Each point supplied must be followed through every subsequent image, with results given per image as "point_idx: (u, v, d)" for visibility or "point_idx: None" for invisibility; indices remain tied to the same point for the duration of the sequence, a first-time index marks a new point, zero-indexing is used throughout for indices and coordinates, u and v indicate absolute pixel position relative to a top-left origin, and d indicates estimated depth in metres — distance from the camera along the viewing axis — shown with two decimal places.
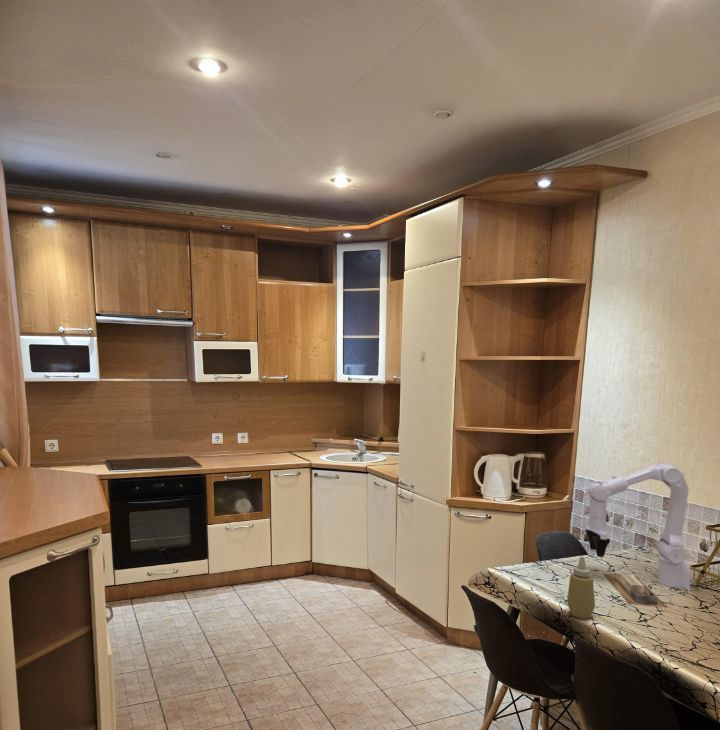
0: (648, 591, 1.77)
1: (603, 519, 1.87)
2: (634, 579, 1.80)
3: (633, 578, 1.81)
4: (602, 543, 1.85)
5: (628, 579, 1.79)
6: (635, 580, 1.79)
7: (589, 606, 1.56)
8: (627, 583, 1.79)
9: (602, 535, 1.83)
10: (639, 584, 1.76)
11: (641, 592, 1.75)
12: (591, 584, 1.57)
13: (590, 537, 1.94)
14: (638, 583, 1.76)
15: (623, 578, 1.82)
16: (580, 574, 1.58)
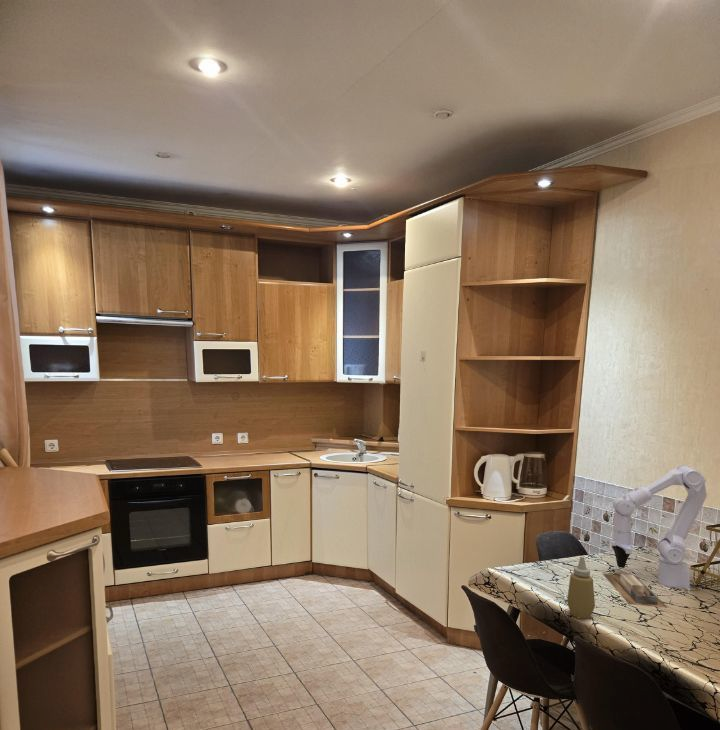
0: (648, 591, 1.77)
1: (628, 533, 1.87)
2: (634, 579, 1.80)
3: (633, 578, 1.81)
4: (623, 554, 1.89)
5: (628, 579, 1.79)
6: (635, 580, 1.79)
7: (589, 606, 1.56)
8: (627, 583, 1.79)
9: (627, 550, 1.83)
10: (639, 584, 1.76)
11: (641, 592, 1.75)
12: (591, 584, 1.57)
13: None
14: (638, 583, 1.76)
15: (623, 578, 1.82)
16: (580, 574, 1.58)
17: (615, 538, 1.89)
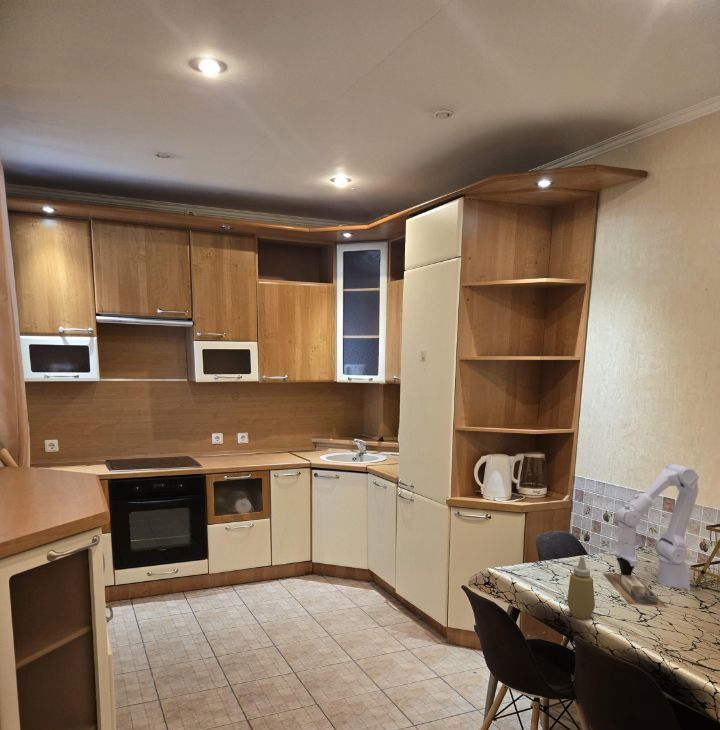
0: (648, 591, 1.77)
1: (633, 545, 1.83)
2: (635, 580, 1.79)
3: (634, 579, 1.80)
4: (628, 566, 1.84)
5: (629, 580, 1.79)
6: (636, 581, 1.78)
7: (589, 606, 1.56)
8: (628, 584, 1.78)
9: (632, 562, 1.78)
10: (640, 585, 1.75)
11: (642, 593, 1.74)
12: (591, 584, 1.57)
13: None
14: (639, 584, 1.76)
15: (624, 579, 1.82)
16: (580, 574, 1.58)
17: (619, 550, 1.85)
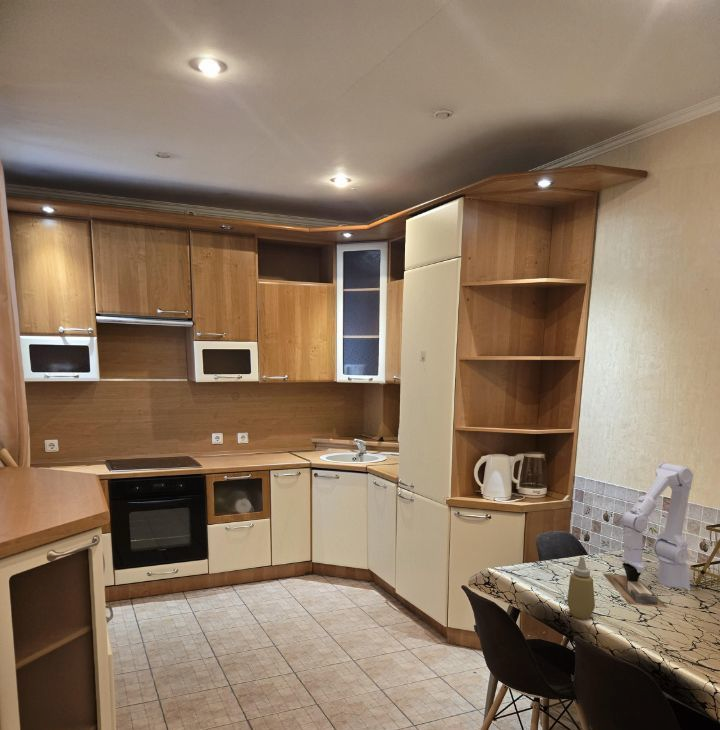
0: None
1: (639, 550, 1.77)
2: (642, 587, 1.74)
3: (641, 586, 1.74)
4: (634, 573, 1.79)
5: (636, 587, 1.73)
6: (643, 588, 1.73)
7: (589, 606, 1.56)
8: (634, 591, 1.72)
9: (639, 568, 1.73)
10: (647, 592, 1.69)
11: None
12: (591, 584, 1.57)
13: None
14: (646, 591, 1.70)
15: (630, 586, 1.76)
16: (580, 574, 1.58)
17: (626, 555, 1.79)
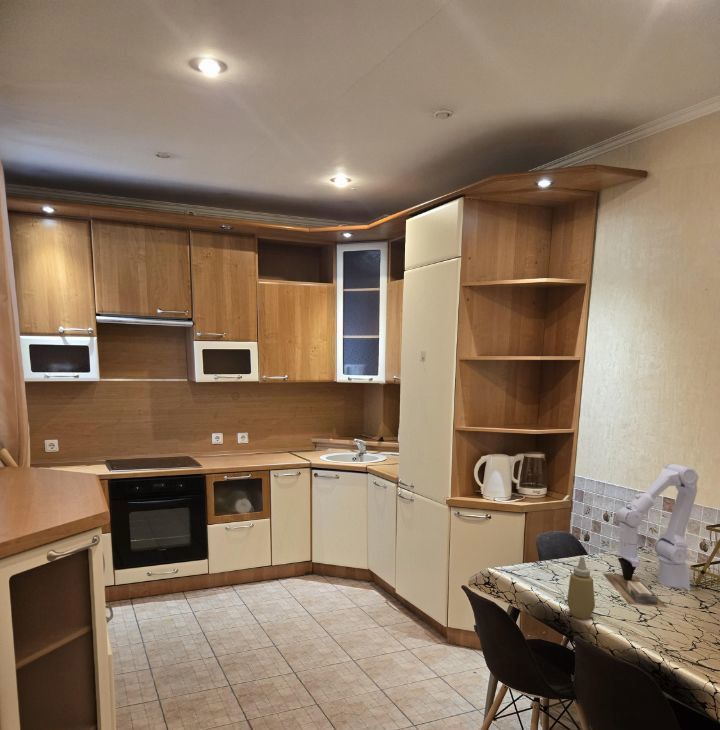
0: None
1: (634, 545, 1.82)
2: (642, 587, 1.74)
3: (641, 586, 1.74)
4: (629, 567, 1.83)
5: (636, 587, 1.73)
6: (643, 588, 1.73)
7: (589, 606, 1.56)
8: (634, 591, 1.72)
9: (634, 562, 1.77)
10: (647, 592, 1.69)
11: None
12: (591, 584, 1.57)
13: None
14: (646, 591, 1.70)
15: (630, 586, 1.76)
16: (580, 574, 1.58)
17: (621, 550, 1.84)
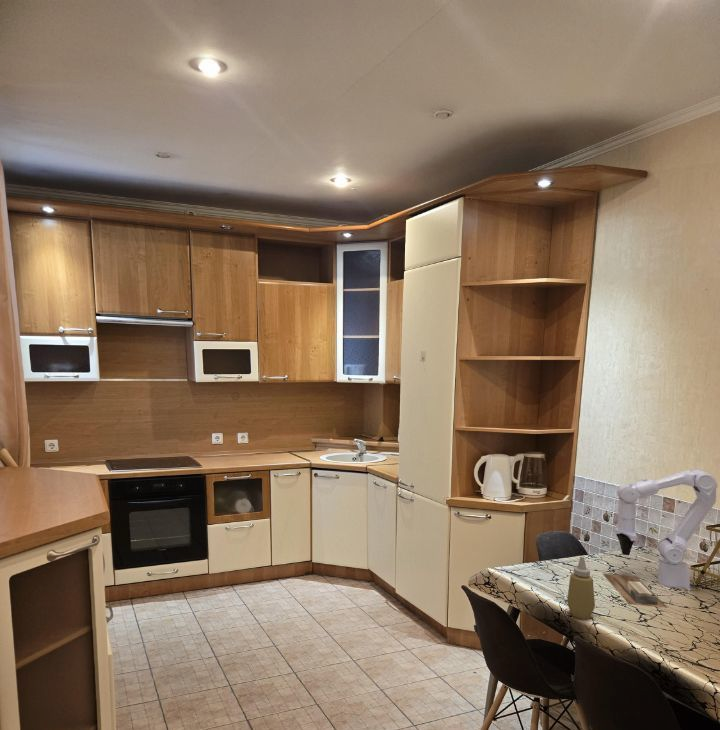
0: None
1: (632, 521, 1.87)
2: (642, 587, 1.74)
3: (641, 586, 1.74)
4: (627, 542, 1.89)
5: (636, 587, 1.73)
6: (643, 588, 1.73)
7: (589, 606, 1.56)
8: (634, 591, 1.72)
9: (632, 537, 1.83)
10: (647, 592, 1.69)
11: None
12: (591, 584, 1.57)
13: None
14: (646, 591, 1.70)
15: (630, 586, 1.76)
16: (580, 574, 1.58)
17: (619, 526, 1.89)
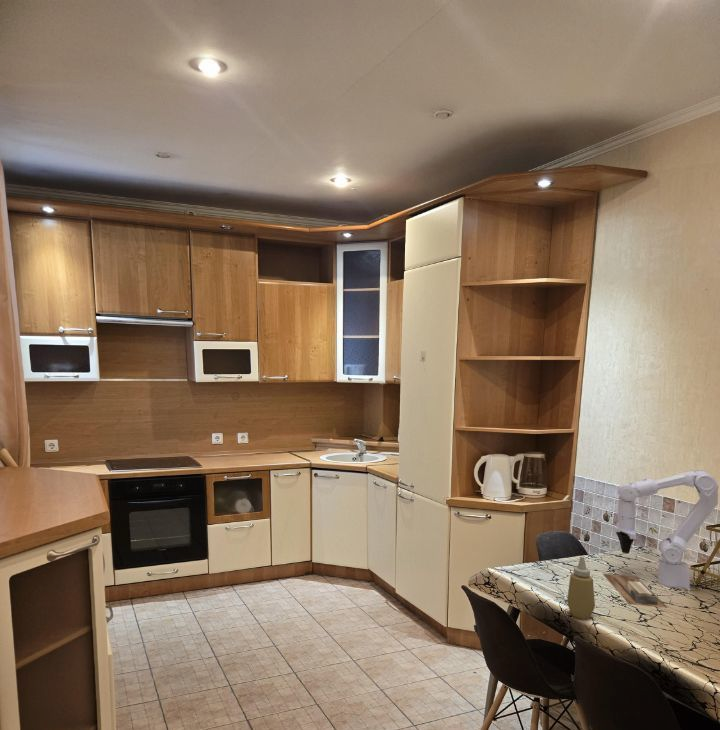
0: None
1: (632, 519, 1.89)
2: (642, 587, 1.74)
3: (641, 586, 1.74)
4: (627, 540, 1.91)
5: (636, 587, 1.73)
6: (643, 588, 1.73)
7: (589, 606, 1.56)
8: (634, 591, 1.72)
9: (632, 535, 1.85)
10: (647, 592, 1.69)
11: None
12: (591, 584, 1.57)
13: None
14: (646, 591, 1.70)
15: (630, 586, 1.76)
16: (580, 574, 1.58)
17: (619, 524, 1.91)
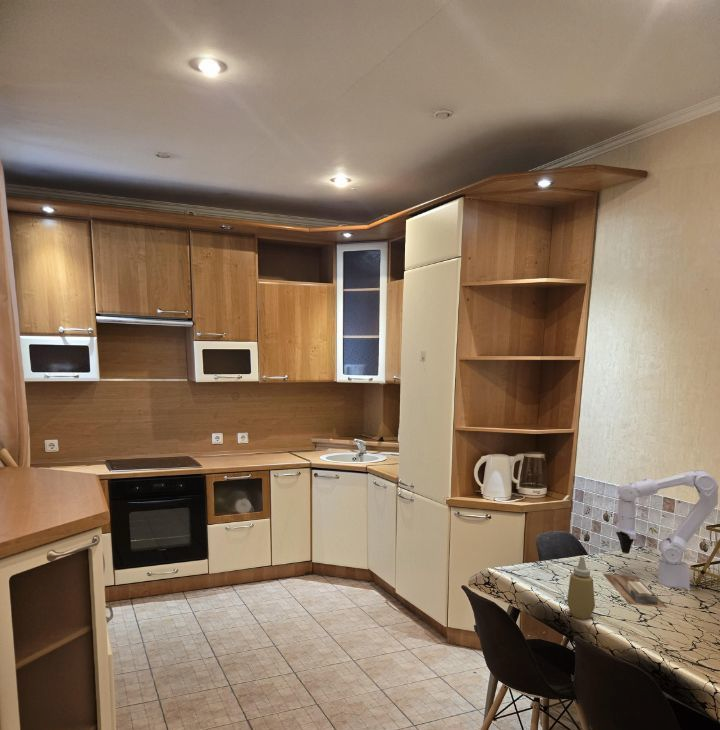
0: None
1: (632, 519, 1.89)
2: (642, 587, 1.74)
3: (641, 586, 1.74)
4: (627, 540, 1.91)
5: (636, 587, 1.73)
6: (643, 588, 1.73)
7: (589, 606, 1.56)
8: (634, 591, 1.72)
9: (632, 535, 1.85)
10: (647, 592, 1.69)
11: None
12: (591, 584, 1.57)
13: None
14: (646, 591, 1.70)
15: (630, 586, 1.76)
16: (580, 574, 1.58)
17: (619, 524, 1.91)
